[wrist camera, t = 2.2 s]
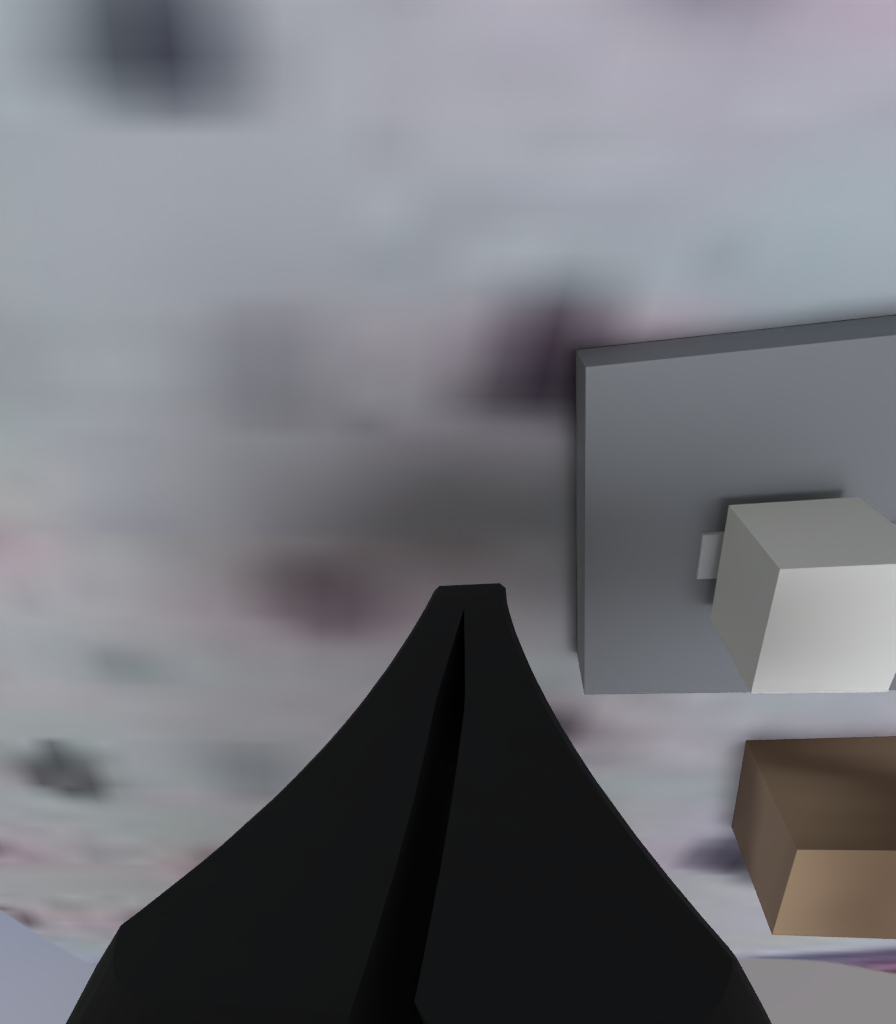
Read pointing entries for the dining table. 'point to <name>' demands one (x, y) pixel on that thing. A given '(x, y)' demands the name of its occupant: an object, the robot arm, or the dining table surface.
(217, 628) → the dining table surface
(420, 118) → the dining table surface
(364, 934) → the robot arm
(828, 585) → the switch
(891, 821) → the block
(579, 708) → the dining table surface
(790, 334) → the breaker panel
